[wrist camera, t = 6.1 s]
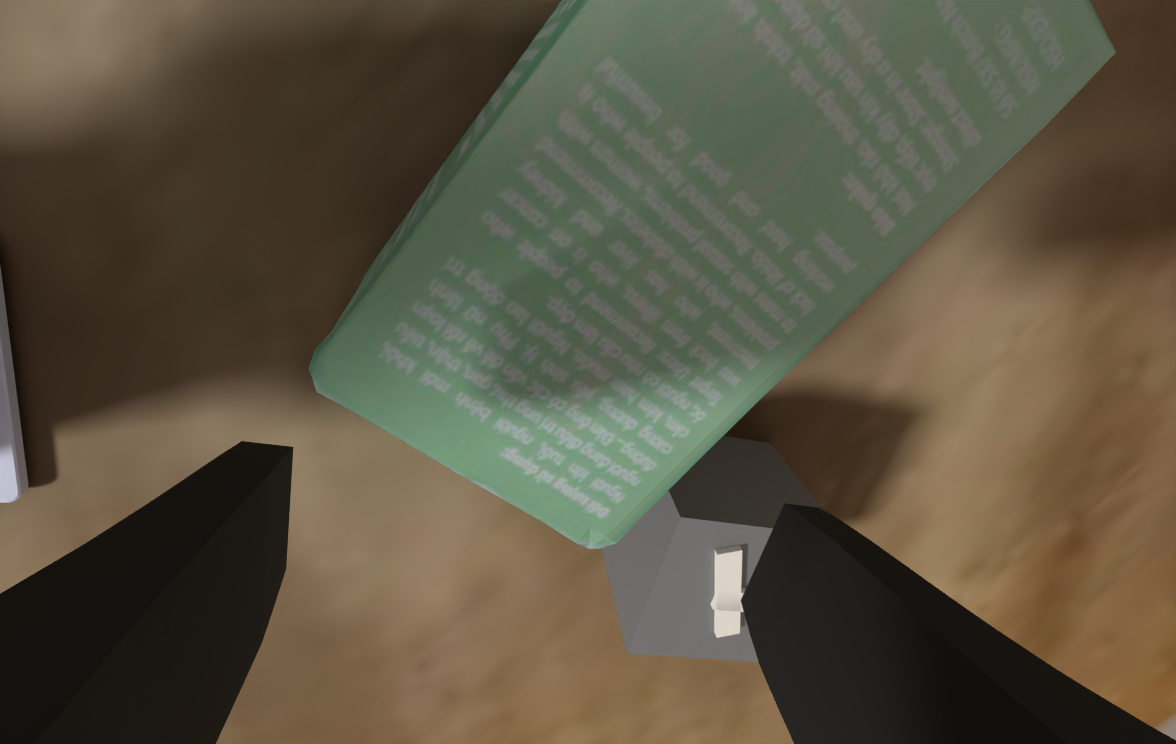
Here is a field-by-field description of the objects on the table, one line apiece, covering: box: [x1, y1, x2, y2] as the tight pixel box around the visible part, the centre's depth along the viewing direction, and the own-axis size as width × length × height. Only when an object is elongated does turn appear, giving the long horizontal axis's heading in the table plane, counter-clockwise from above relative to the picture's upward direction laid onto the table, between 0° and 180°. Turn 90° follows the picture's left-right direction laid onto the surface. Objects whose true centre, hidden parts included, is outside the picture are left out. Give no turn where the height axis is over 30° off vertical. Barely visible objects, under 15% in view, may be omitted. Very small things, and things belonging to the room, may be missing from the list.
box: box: [309, 0, 1116, 549], centre depth 13 cm, size 7×14×8 cm, turn 139°
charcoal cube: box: [602, 436, 823, 662], centre depth 19 cm, size 5×5×5 cm
